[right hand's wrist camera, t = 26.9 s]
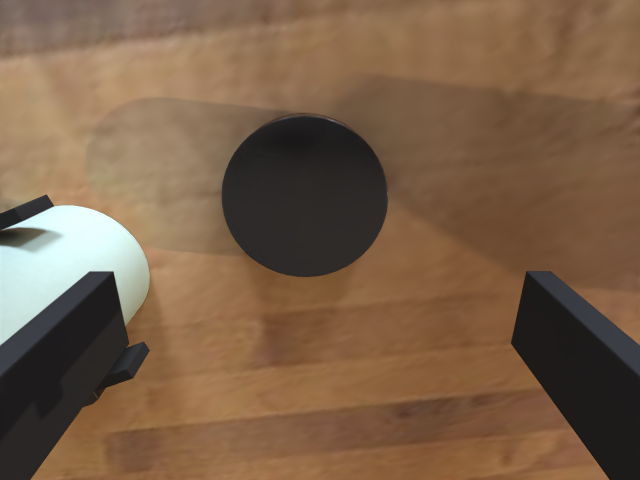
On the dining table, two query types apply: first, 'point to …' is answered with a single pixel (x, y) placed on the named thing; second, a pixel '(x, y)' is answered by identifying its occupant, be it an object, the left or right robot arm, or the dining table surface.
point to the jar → (65, 262)
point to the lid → (304, 195)
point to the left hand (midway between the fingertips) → (91, 289)
